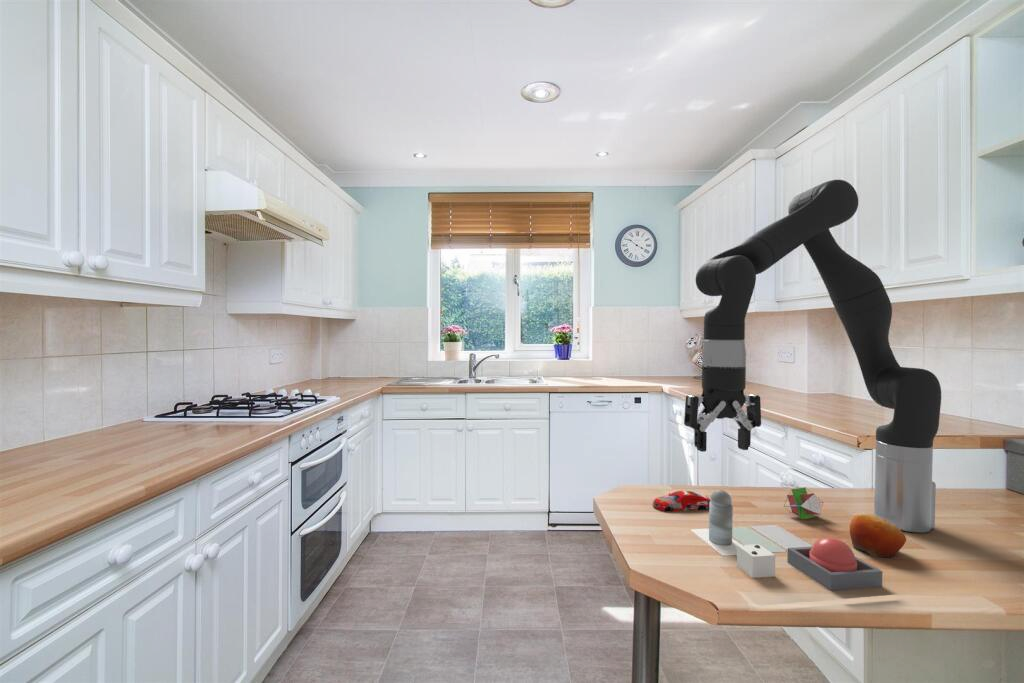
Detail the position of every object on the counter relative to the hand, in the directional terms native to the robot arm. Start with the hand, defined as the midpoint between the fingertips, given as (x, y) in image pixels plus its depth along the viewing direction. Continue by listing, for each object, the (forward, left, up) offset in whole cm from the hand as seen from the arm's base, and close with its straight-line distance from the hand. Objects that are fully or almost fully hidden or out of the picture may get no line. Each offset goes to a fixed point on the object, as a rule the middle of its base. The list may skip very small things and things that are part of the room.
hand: (722, 449), depth 87 cm
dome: (-11, +14, -18) cm, 25 cm away
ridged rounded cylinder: (0, 0, -17) cm, 17 cm away
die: (+1, +11, -18) cm, 21 cm away
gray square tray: (-11, +13, -18) cm, 25 cm away
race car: (-2, -18, -18) cm, 26 cm away
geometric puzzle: (-25, -9, -18) cm, 32 cm away
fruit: (-26, +7, -18) cm, 33 cm away
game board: (-6, 0, -18) cm, 19 cm away
